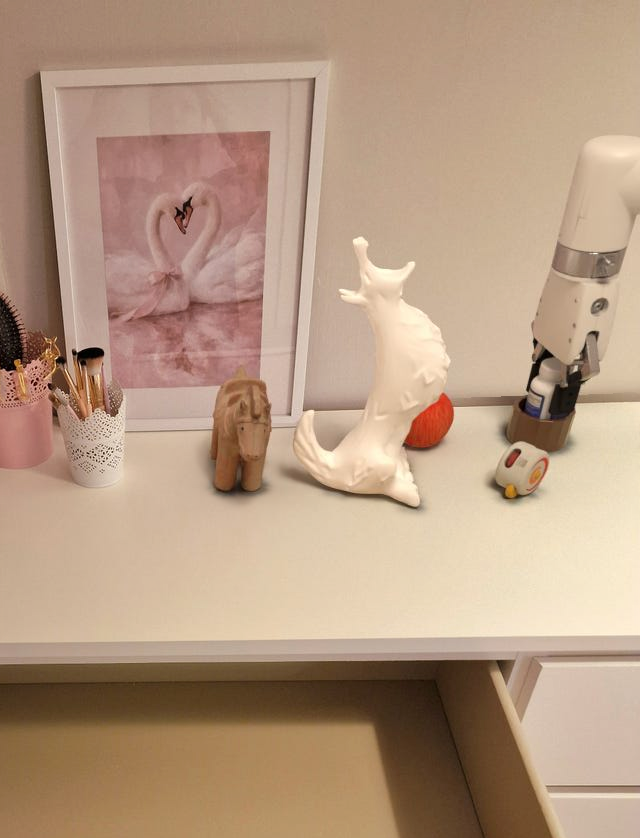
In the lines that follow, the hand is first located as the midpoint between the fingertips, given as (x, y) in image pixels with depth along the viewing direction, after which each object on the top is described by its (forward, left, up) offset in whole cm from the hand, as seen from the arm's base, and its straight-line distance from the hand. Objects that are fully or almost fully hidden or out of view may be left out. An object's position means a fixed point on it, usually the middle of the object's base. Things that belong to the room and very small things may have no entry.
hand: (549, 400), depth 113 cm
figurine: (+41, +2, -6) cm, 42 cm away
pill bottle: (0, 0, -4) cm, 4 cm away
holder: (0, 0, -5) cm, 5 cm away
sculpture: (+27, +6, -6) cm, 29 cm away
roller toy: (+8, +11, -6) cm, 15 cm away
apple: (+16, -3, -6) cm, 17 cm away
